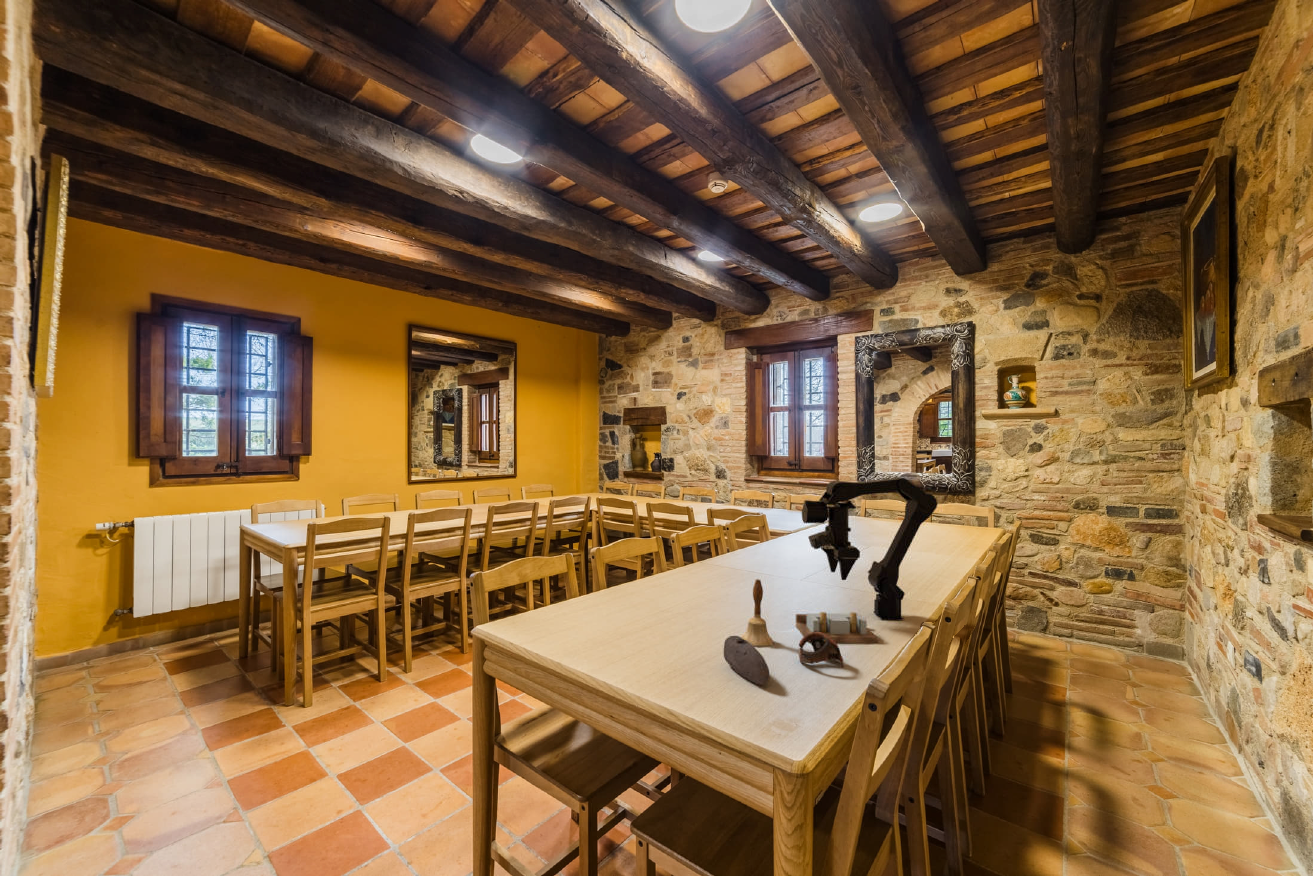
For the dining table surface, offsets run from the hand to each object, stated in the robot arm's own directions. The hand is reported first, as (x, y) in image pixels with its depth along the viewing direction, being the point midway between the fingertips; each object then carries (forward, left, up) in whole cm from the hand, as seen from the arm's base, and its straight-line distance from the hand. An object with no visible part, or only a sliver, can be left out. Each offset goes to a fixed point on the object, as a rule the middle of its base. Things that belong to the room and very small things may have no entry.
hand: (838, 576), depth 159 cm
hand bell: (+28, +20, -12) cm, 36 cm away
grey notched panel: (+6, +16, -10) cm, 20 cm away
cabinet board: (+6, +15, -12) cm, 20 cm away
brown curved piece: (+16, +34, -12) cm, 39 cm away
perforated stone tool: (+34, +41, -12) cm, 55 cm away
